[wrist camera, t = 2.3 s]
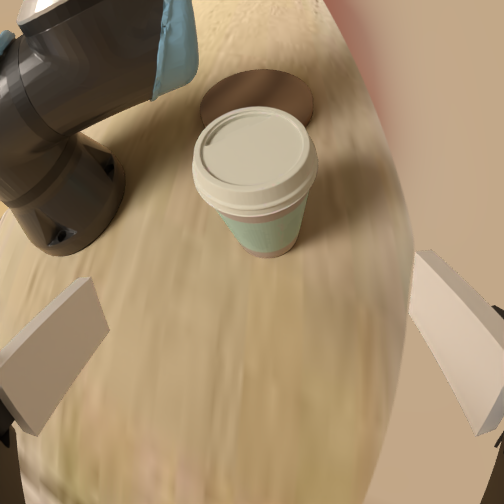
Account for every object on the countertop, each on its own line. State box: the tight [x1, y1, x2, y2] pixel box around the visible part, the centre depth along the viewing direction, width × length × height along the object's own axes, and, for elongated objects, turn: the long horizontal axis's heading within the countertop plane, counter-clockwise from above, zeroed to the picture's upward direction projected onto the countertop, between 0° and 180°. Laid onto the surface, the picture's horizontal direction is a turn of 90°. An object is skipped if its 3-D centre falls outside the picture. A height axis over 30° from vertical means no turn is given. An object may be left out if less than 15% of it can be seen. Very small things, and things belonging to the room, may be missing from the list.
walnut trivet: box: [200, 69, 313, 128], centre depth 36 cm, size 14×14×2 cm
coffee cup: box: [192, 106, 318, 258], centre depth 25 cm, size 9×8×12 cm
